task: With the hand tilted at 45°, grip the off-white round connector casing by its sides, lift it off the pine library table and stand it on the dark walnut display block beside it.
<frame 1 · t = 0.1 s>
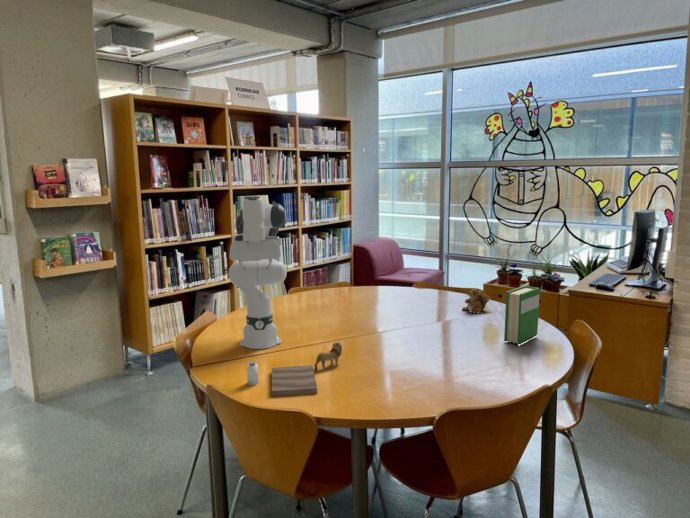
hand: (256, 270, 202), 39 cm above the table, tool pointing down, fingers open, 8 cm apart
hardback book: (520, 340, 234), on the table
connector casing: (253, 383, 188), on the table
lion figurine: (328, 366, 204), on the table
stuffed squirrel: (475, 311, 284), on the table
display block: (293, 382, 188), on the table
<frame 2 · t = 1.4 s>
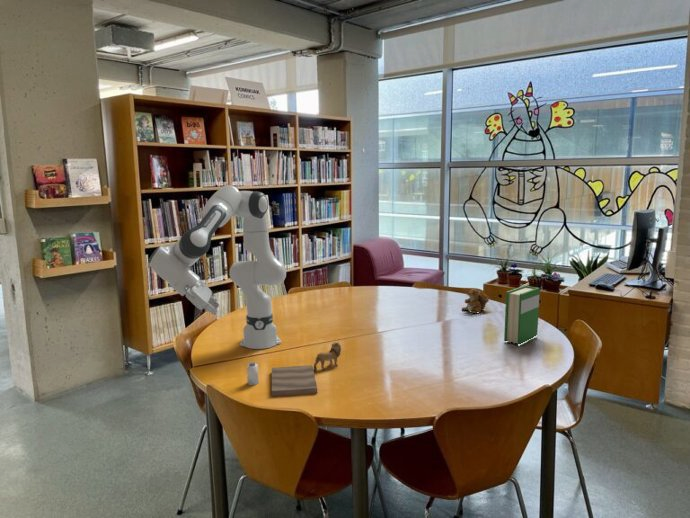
hand: (216, 309, 182), 29 cm above the table, tool tilted 45°, fingers open, 8 cm apart
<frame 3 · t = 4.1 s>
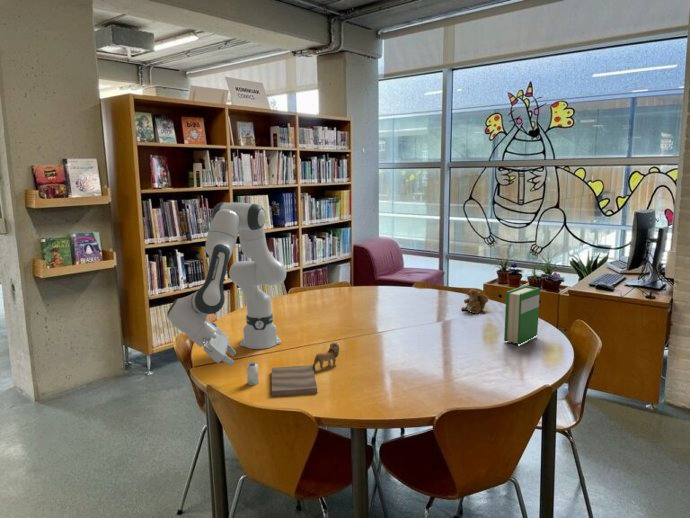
hand: (233, 358, 185), 10 cm above the table, tool tilted 45°, fingers open, 8 cm apart
lion figurine: (326, 367, 203), on the table, touching display block
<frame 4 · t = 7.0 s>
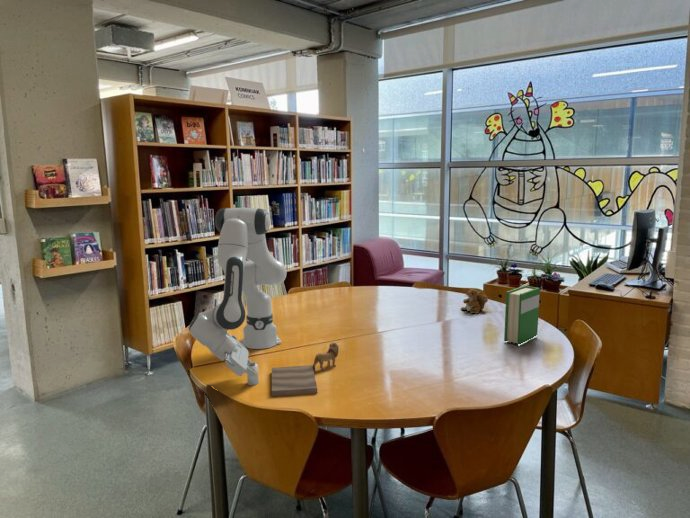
hand: (254, 371, 187), 4 cm above the table, tool tilted 45°, fingers closed on connector casing, 4 cm apart
connector casing: (253, 383, 188), on the table, touching gripper
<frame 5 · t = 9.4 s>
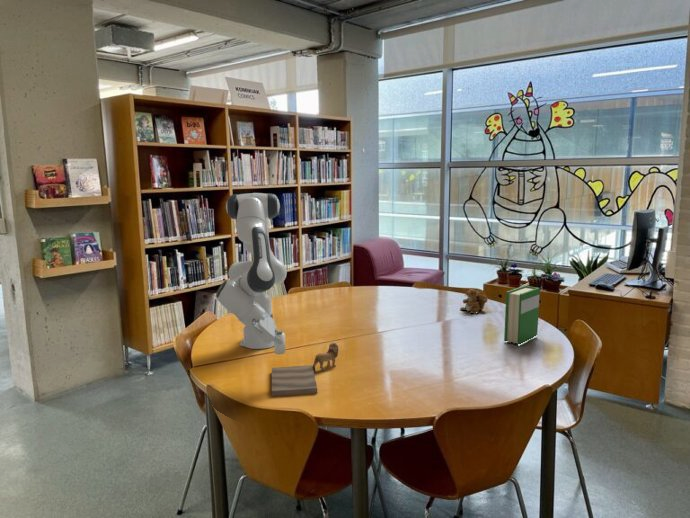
hand: (281, 340, 185), 16 cm above the table, tool tilted 45°, fingers closed on connector casing, 4 cm apart
connector casing: (279, 352, 186), point 12 cm above the table, touching gripper
lion figurine: (325, 367, 203), on the table
when the fingers open (8 cm above the table, at t = 12.1 s): connector casing drops 1 cm, resting on display block.
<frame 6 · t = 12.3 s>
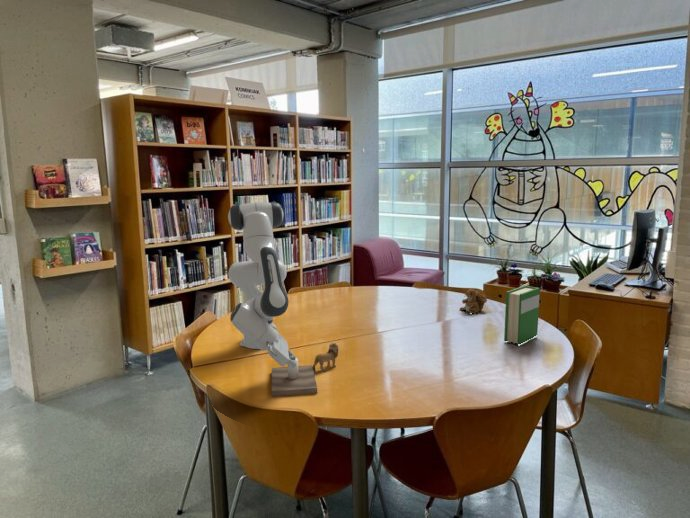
hand: (294, 362, 187), 8 cm above the table, tool tilted 45°, fingers open, 6 cm apart
connector casing: (293, 377, 188), point 2 cm above the table, touching display block
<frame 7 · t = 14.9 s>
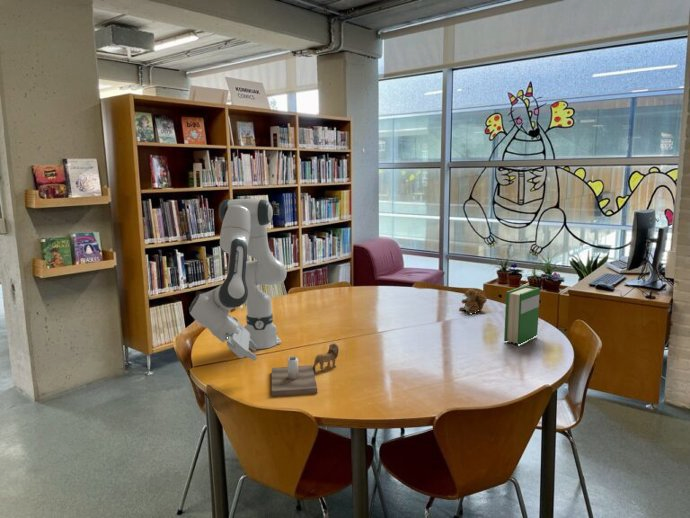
hand: (255, 353, 185), 12 cm above the table, tool tilted 45°, fingers open, 8 cm apart
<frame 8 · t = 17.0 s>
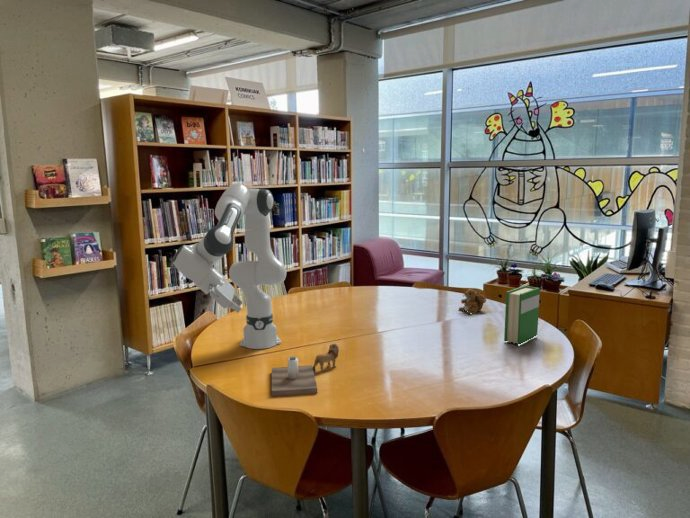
hand: (240, 307, 183), 29 cm above the table, tool tilted 45°, fingers open, 8 cm apart
at the end: connector casing inside the target area on the display block (0.1 cm from its centre), point 2.0 cm above the display block's base; connector casing tilted 0°; the gripper is holding nothing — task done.
